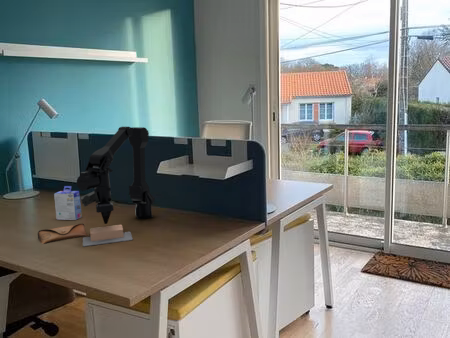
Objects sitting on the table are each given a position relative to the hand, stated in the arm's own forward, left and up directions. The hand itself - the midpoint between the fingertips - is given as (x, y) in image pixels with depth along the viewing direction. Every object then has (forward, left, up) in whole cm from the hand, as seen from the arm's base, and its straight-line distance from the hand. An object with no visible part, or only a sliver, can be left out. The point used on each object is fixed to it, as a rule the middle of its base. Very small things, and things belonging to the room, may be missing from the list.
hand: (105, 223), depth 176 cm
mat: (0, +8, -4) cm, 9 cm away
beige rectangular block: (0, +2, -2) cm, 3 cm away
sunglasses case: (+16, -2, -5) cm, 17 cm away
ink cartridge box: (+15, -29, -4) cm, 33 cm away
